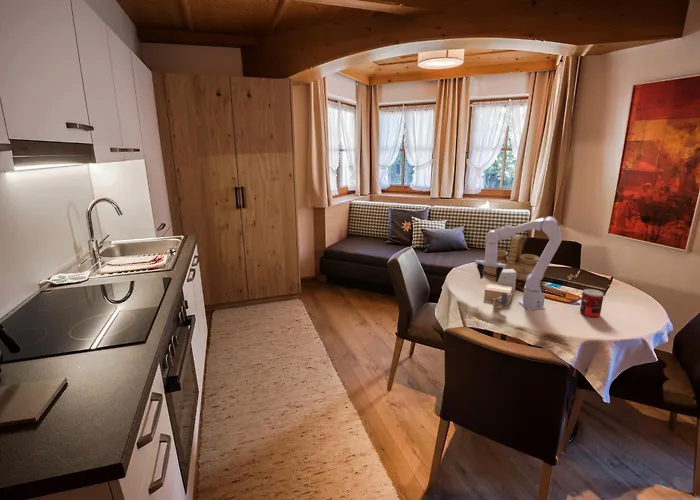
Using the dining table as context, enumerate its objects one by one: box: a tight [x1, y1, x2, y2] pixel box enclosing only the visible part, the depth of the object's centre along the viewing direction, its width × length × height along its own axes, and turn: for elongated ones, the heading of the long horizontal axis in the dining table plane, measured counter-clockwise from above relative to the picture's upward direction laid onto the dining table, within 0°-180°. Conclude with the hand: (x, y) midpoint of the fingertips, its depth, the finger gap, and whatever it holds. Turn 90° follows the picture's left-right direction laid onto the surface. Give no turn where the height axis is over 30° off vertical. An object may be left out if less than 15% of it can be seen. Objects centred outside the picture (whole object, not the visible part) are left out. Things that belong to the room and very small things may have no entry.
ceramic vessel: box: [483, 234, 545, 282], centre depth 215 cm, size 34×18×25 cm, turn 52°
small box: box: [496, 269, 517, 291], centre depth 198 cm, size 8×6×10 cm
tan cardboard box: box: [492, 292, 512, 309], centre depth 175 cm, size 12×6×9 cm, turn 120°
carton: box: [483, 283, 513, 301], centre depth 188 cm, size 12×9×5 cm
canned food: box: [579, 288, 605, 318], centre depth 166 cm, size 8×8×11 cm
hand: (489, 279), depth 185 cm, fingers open, 7 cm apart
